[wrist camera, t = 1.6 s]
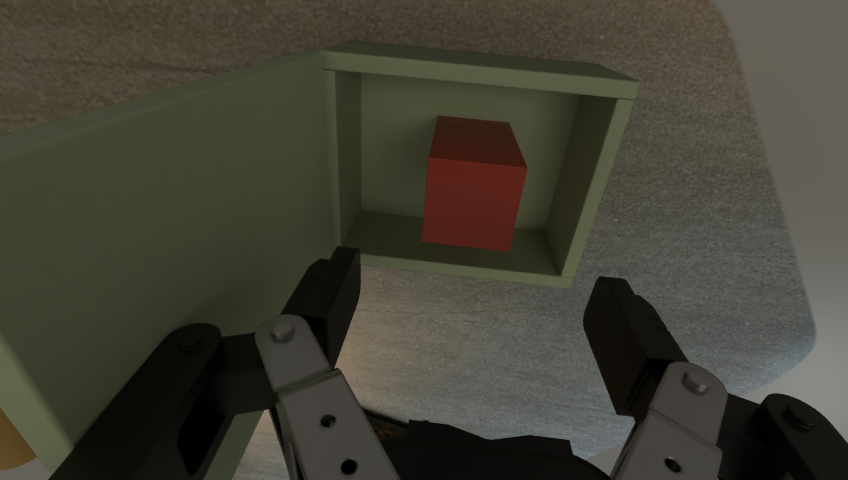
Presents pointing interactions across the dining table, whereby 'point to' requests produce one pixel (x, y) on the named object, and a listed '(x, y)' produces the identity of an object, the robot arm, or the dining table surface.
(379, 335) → the dining table surface
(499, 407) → the dining table surface
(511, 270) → the chest
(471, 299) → the dining table surface
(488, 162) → the block
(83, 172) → the lid
